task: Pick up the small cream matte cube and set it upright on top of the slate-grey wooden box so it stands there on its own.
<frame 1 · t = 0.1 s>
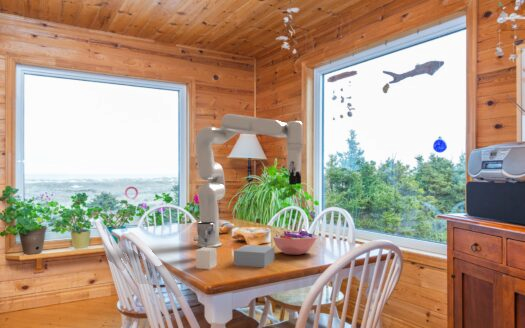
hand: (295, 184, 179), 31 cm above the table, tool pointing down, fingers open, 9 cm apart
cell model: (295, 254, 172), on the table
base box: (254, 263, 157), on the table
wine glass: (206, 257, 168), on the table
cream matte cube: (206, 266, 151), on the table
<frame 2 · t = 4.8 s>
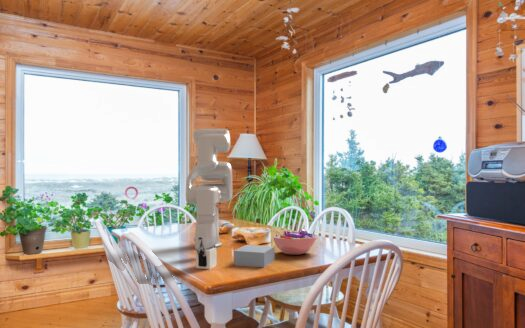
hand: (206, 263, 151), 1 cm above the table, tool pointing down, fingers closed on cream matte cube, 6 cm apart
cream matte cube: (206, 266, 151), on the table, touching gripper
everything else where it was.
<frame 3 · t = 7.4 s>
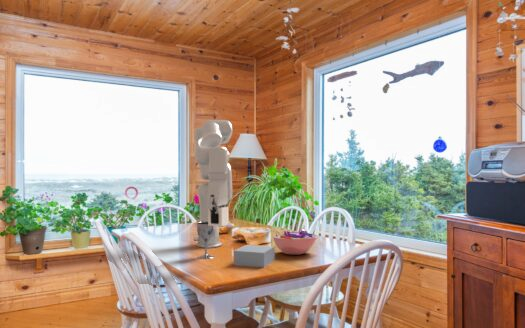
hand: (218, 221, 153), 17 cm above the table, tool pointing down, fingers closed on cream matte cube, 6 cm apart
cream matte cube: (218, 224, 153), point 16 cm above the table, touching gripper
everything else where it was.
when the fingers open (8 cm above the table, at t = 10.3 s): cream matte cube drops 1 cm, resting on base box.
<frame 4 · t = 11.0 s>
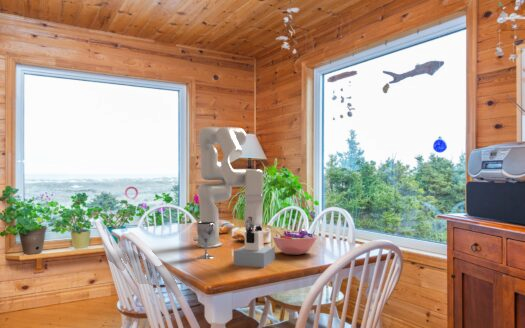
hand: (254, 240, 158), 9 cm above the table, tool pointing down, fingers open, 9 cm apart
base box: (254, 263, 157), on the table, touching cream matte cube
cream matte cube: (254, 248, 158), point 6 cm above the table, touching base box
everything else where it was.
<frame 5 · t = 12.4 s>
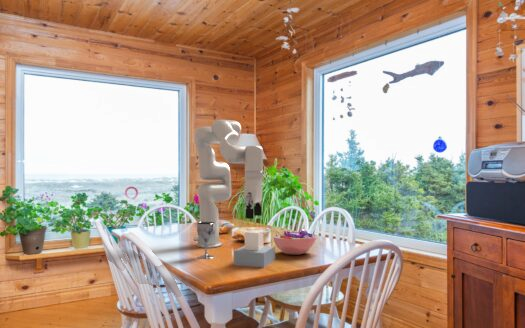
hand: (253, 216, 158), 19 cm above the table, tool pointing down, fingers open, 9 cm apart
base box: (255, 263, 157), on the table
cream matte cube: (254, 248, 158), point 6 cm above the table
everything else where it was.
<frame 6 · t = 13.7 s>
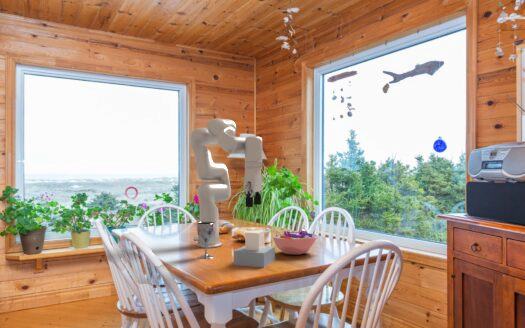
hand: (253, 205, 163), 23 cm above the table, tool pointing down, fingers open, 9 cm apart
base box: (255, 263, 157), on the table, touching cream matte cube
cream matte cube: (255, 248, 157), point 6 cm above the table, touching base box
everything else where it was.
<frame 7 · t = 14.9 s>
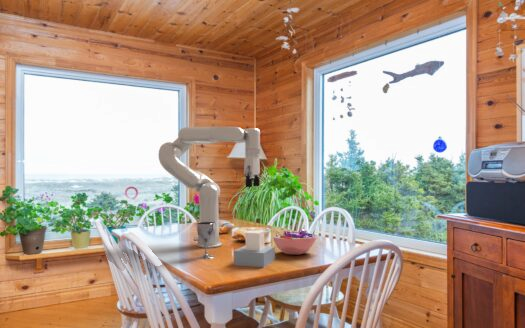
hand: (252, 186, 193), 30 cm above the table, tool pointing down, fingers open, 9 cm apart
nothing on the table moved.
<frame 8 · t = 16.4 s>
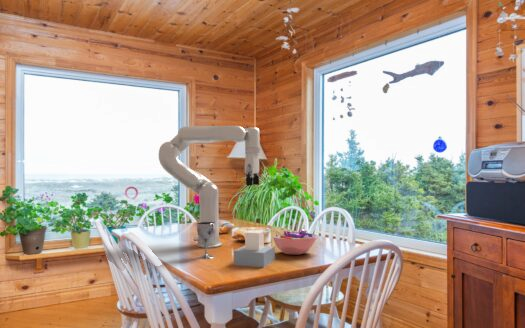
hand: (252, 184, 196), 30 cm above the table, tool pointing down, fingers open, 9 cm apart
nothing on the table moved.
at the end: cream matte cube inside the target area on the base box (0.1 cm from its centre), point 6.0 cm above the base box's base; cream matte cube tilted 0°; the gripper is holding nothing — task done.
